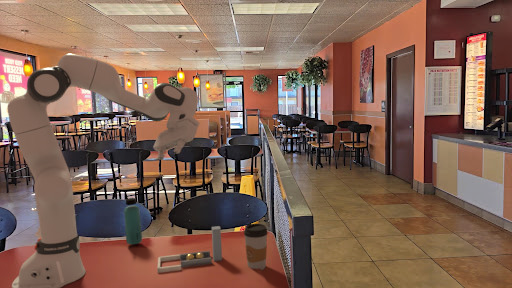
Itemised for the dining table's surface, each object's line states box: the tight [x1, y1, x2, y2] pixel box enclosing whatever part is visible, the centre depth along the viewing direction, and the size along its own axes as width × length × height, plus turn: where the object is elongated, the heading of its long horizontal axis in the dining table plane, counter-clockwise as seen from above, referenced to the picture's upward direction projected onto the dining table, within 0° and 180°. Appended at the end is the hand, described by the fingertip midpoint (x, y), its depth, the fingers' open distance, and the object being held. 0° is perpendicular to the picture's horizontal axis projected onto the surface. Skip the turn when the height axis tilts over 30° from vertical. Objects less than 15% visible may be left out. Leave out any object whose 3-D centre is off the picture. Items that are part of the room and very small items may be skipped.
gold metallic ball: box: [186, 254, 194, 260], centre depth 142 cm, size 3×3×3 cm
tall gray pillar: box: [211, 225, 223, 262], centre depth 144 cm, size 3×4×13 cm
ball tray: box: [157, 253, 182, 274], centre depth 140 cm, size 8×10×2 cm
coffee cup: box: [243, 223, 268, 271], centre depth 138 cm, size 8×8×15 cm
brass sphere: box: [196, 253, 204, 259], centre depth 143 cm, size 3×3×3 cm
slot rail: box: [179, 250, 213, 269], centre depth 143 cm, size 11×7×3 cm, turn 102°
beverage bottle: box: [123, 197, 143, 245], centre depth 162 cm, size 6×7×20 cm
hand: (168, 155), depth 138 cm, fingers open, 8 cm apart
